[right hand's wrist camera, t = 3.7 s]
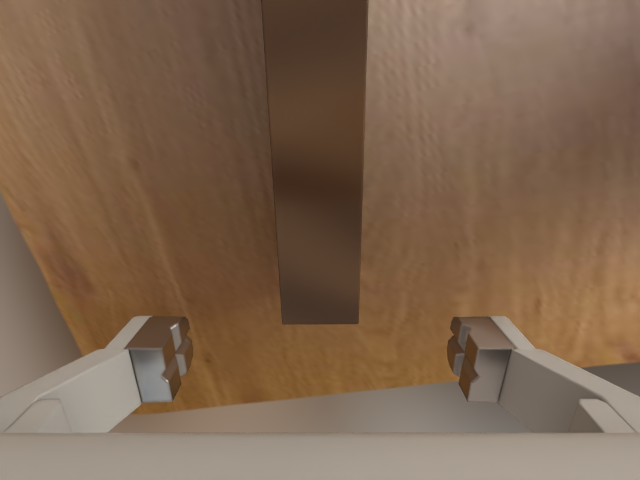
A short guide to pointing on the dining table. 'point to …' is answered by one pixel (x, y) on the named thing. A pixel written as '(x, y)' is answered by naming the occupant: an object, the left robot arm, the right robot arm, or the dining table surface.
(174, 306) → the dining table surface
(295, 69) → the beam
